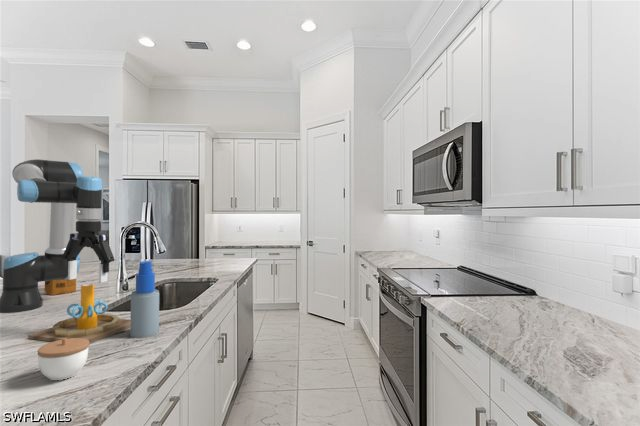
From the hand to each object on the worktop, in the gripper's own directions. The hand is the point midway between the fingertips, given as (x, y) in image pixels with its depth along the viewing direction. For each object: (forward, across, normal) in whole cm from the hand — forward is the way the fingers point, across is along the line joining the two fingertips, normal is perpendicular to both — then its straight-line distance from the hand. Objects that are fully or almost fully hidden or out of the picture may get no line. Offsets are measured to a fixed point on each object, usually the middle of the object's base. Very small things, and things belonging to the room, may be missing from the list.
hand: (87, 280), depth 124 cm
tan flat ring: (+16, +1, 0) cm, 17 cm away
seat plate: (+18, +1, 0) cm, 18 cm away
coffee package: (+19, -63, +42) cm, 78 cm away
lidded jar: (+17, +25, -29) cm, 42 cm away
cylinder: (+17, +1, 0) cm, 17 cm away
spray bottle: (+18, +22, +3) cm, 28 cm away
